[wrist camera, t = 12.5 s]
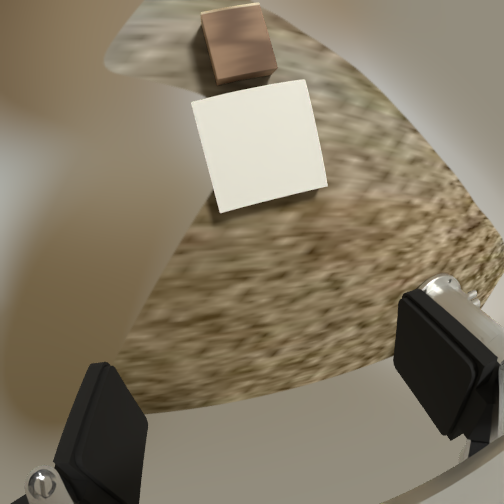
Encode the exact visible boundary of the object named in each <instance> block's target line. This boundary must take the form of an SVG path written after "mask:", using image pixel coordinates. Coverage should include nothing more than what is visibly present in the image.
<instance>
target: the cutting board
mask: <svg viewBox="0 0 504 504" xmlns="http://www.w3.org/2000/svg"><path fill="white" fill-rule="evenodd" d="M191 105H192V109H193V113H194V117H195V121H196V125H197V128H198V132H199V136H200V140H201V143H202V147H203V151H204V155H205V159H206V163H207V167H208V170H209V174H210V178H211V181H212V185H213V189H214V193H215V196H216V200H217V204H218V207H219V211H220V213H223V212H226V211H230V210H234V209H238V208H241V207H245V206H249V205H253V204H257V203H261V202H264V201H268V200H272V199H276V198H280V197H284V196H288V195H293V194H297V193H301V192H305V191H309V190H313V189H318V188H322V187H326V186H328V185H327V179H326V174H325V168H324V163H323V158H322V152H321V147H320V143H319V138H318V133H317V128H316V124H315V119H314V115H313V110H312V106H311V102H310V98H309V93H308V89H307V85H306V81H305V79H303V80H296V81H289V82H282V83H276V84H270V85H265V86H259V87H254V88H249V89H244V90H239V91H235V92H230V93H226V94H222V95H217V96H213V97H209V98H205V99H202V100H198V101H194V102H191Z"/></svg>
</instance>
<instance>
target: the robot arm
mask: <svg viewBox="0 0 504 504" xmlns="http://www.w3.org/2000/svg"><path fill="white" fill-rule="evenodd" d="M476 296H477V292H476V290H472V291H470V292H468V293H465V292H463V291H462V290H461V286H460V284H459V282H458V281H457V279H456V278H454V277H453V276H451V275H449V274H438V275H435V276H433V277H431V278H429V279H428V280H426V281H425V282H424V283H423V284H422V285H421V286H420V287H419V288H418V289H415V290H413V291H410V292H407V293H404V294H403V296H402V299H400V300H399V304H398V318H397V330H396V340H395V349H394V359H393V361H394V366H395V368H396V370H397V371H398V373H399V374H400V375H401V377H402V378H403V380H404V381H405V382H406V384H407V385H408V387H409V388H410V389H411V391H412V392H413V394H414V395H415V396H416V398H417V399H418V401H419V402H420V404H421V405H422V407H423V408H424V409H425V411H426V412H427V414H428V415H429V417H430V418H431V420H432V421H433V423H434V424H435V425H436V427H437V428H438V430H439V431H440V433H441V434H442V435H447V436H448V438H449V439H450V440H453V439H455V438H456V437H458V436H460V435H461V434H464V435H465V436H466V438H467V441H466V445H465V446H464V448H463V449H462V451H461V453H460V455H459V464H458V465H456V466H455V467H453V468H451V469H450V470H448V471H446V472H444V473H442V474H441V475H439V476H437V477H436V478H434V479H432V480H430V481H428V482H426V483H424V484H422V485H420V486H418V487H416V488H414V489H412V490H410V491H408V492H406V493H403V494H401V495H399V496H397V497H395V498H392V499H390V500H388V501H385V502H383V503H380V504H504V328H503V327H502V326H501V325H499V324H498V323H497V322H496V321H495V320H493V319H492V318H491V317H490V316H488V315H487V314H486V313H485V312H483V311H482V310H481V309H480V308H479V307H480V301H479V299H478V298H475V297H476ZM473 298H475V299H473ZM470 299H473V300H471V301H470ZM147 430H148V422H147V419H146V417H145V415H144V414H143V412H142V411H141V409H140V408H139V406H138V404H137V403H136V401H135V400H134V398H133V397H132V395H131V393H130V392H129V390H128V389H127V387H126V385H125V384H124V382H123V380H122V379H121V377H120V375H119V374H118V372H117V370H116V369H115V367H114V366H110V364H109V363H107V362H102V363H93V364H90V366H89V368H88V370H87V372H86V374H85V377H84V379H83V382H82V384H81V386H80V389H79V391H78V394H77V396H76V399H75V401H74V404H73V407H72V409H71V412H70V414H69V417H68V419H67V422H66V425H65V428H64V430H63V433H62V436H61V439H60V442H59V445H58V448H57V451H56V454H55V457H54V460H53V462H54V463H55V468H53V467H51V466H47V465H43V466H39V467H36V468H35V469H33V470H32V471H31V472H30V473H29V474H28V476H27V478H26V481H25V493H26V494H25V495H24V496H22V497H20V498H19V499H17V500H16V501H14V502H13V503H11V504H139V498H140V487H141V477H142V468H143V460H144V452H145V444H146V437H147Z"/></svg>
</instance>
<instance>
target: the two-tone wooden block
mask: <svg viewBox="0 0 504 504" xmlns="http://www.w3.org/2000/svg"><path fill="white" fill-rule="evenodd" d="M200 13H201V25H202V29H203V33H204V37H205V41H206V45H207V49H208V52H209V56H210V60H211V64H212V68H213V72H214V76H215V80H216V84H217V86H218V85H222V84H227V83H231V82H236V81H241V80H246V79H251V78H256V77H262V76H268V75H272V73H273V72H274V71H275V70H276V69H277V68H278V67H277V63H276V59H275V56H274V52H273V48H272V45H271V41H270V38H269V34H268V31H267V27H266V24H265V21H264V17H263V14H262V11H261V8H260V4H259V3H252V4H244V5H238V6H231V7H225V8H220V9H215V10H210V11H205V12H200Z"/></svg>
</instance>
